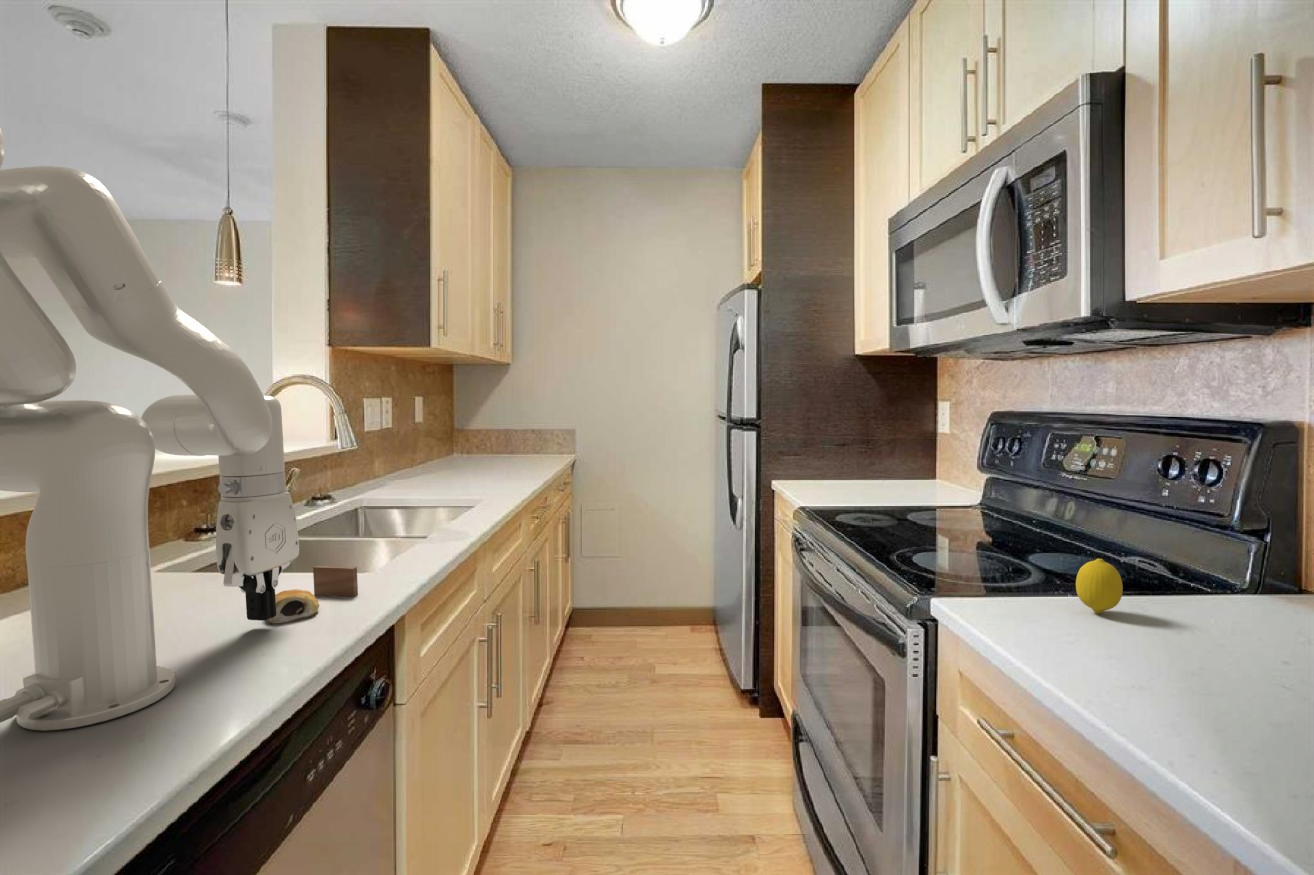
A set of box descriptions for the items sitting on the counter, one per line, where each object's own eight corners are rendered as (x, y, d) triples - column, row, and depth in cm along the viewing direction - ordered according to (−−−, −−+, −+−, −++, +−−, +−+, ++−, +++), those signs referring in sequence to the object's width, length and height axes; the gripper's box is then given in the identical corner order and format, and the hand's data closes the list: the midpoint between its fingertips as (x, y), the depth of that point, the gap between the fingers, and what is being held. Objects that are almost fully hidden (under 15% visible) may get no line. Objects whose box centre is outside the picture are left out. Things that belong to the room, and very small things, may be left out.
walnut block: (354, 596, 102) (353, 568, 102) (314, 594, 103) (313, 567, 103) (357, 594, 103) (356, 567, 103) (318, 592, 104) (317, 565, 104)
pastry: (263, 609, 97) (262, 584, 97) (313, 601, 101) (313, 577, 101) (267, 627, 90) (266, 600, 89) (321, 617, 93) (320, 592, 93)
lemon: (1114, 623, 88) (1116, 565, 87) (1068, 612, 92) (1070, 558, 92) (1126, 614, 91) (1129, 559, 91) (1082, 604, 96) (1084, 551, 95)
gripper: (234, 496, 79) (243, 640, 80) (315, 478, 94) (322, 601, 95) (180, 495, 80) (191, 638, 81) (269, 478, 95) (277, 599, 96)
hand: (261, 617), depth 88 cm, fingers closed
